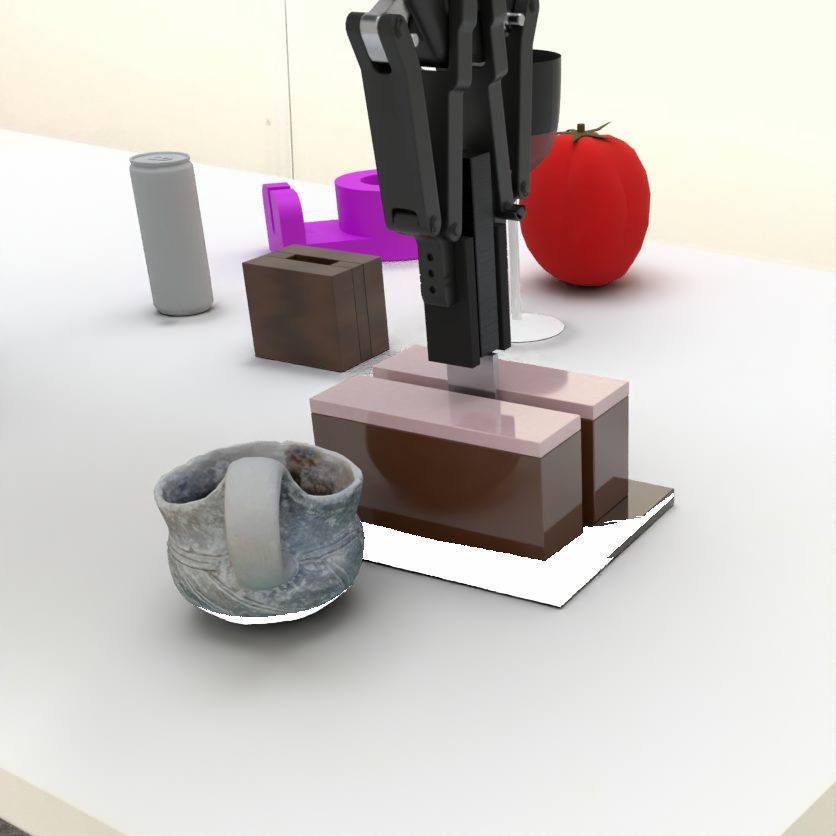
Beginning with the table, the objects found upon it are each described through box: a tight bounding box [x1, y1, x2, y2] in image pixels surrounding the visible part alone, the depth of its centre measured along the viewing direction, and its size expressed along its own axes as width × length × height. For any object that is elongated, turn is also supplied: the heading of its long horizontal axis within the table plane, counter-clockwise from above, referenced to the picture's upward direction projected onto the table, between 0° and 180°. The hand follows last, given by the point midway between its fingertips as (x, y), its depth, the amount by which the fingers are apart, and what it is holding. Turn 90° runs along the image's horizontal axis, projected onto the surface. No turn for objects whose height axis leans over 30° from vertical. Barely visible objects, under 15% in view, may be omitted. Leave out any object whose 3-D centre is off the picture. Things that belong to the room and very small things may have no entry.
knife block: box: [241, 244, 390, 373], centre depth 99 cm, size 8×6×7 cm
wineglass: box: [507, 48, 565, 343], centre depth 101 cm, size 8×9×20 cm
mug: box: [153, 439, 365, 617], centre depth 63 cm, size 10×12×10 cm
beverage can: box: [128, 150, 215, 317], centre depth 107 cm, size 5×5×12 cm
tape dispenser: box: [261, 168, 418, 262], centre depth 125 cm, size 16×10×6 cm, turn 114°
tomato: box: [518, 121, 651, 287], centre depth 114 cm, size 12×12×13 cm
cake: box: [308, 344, 675, 561], centre depth 74 cm, size 18×14×8 cm
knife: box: [447, 149, 500, 400], centre depth 70 cm, size 3×2×19 cm, turn 65°
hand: (470, 352), depth 71 cm, fingers open, 2 cm apart
